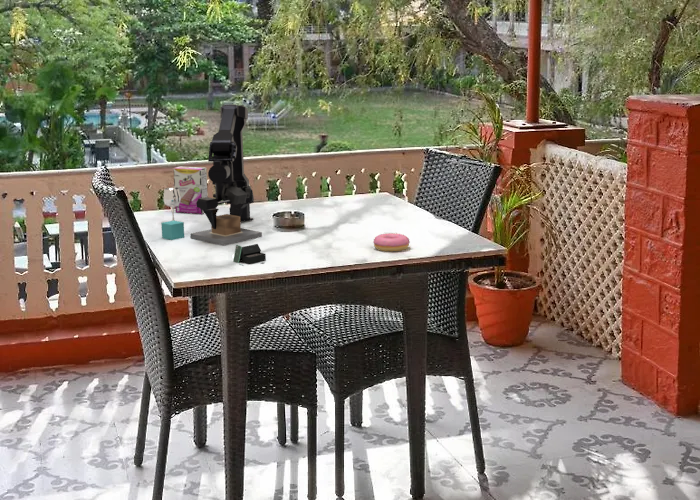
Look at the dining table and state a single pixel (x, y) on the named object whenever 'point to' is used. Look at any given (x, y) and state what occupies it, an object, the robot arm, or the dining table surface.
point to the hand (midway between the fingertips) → (225, 226)
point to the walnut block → (227, 224)
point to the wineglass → (172, 198)
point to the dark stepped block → (248, 254)
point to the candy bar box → (190, 188)
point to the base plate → (226, 236)
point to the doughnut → (391, 242)
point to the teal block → (172, 230)
